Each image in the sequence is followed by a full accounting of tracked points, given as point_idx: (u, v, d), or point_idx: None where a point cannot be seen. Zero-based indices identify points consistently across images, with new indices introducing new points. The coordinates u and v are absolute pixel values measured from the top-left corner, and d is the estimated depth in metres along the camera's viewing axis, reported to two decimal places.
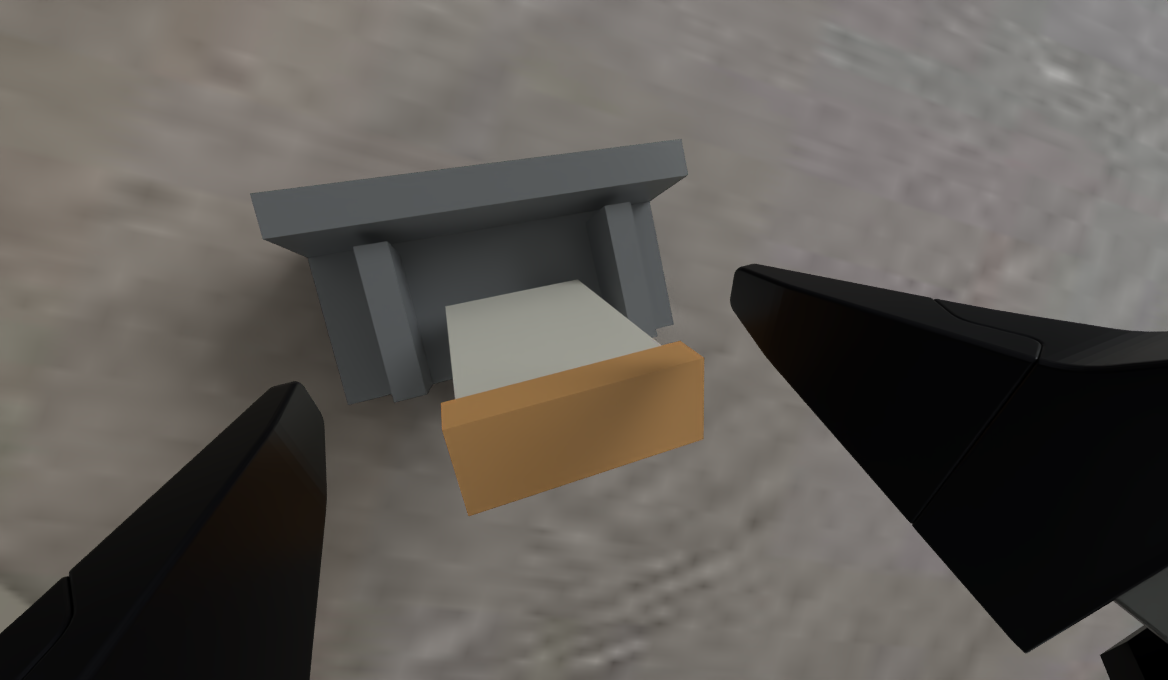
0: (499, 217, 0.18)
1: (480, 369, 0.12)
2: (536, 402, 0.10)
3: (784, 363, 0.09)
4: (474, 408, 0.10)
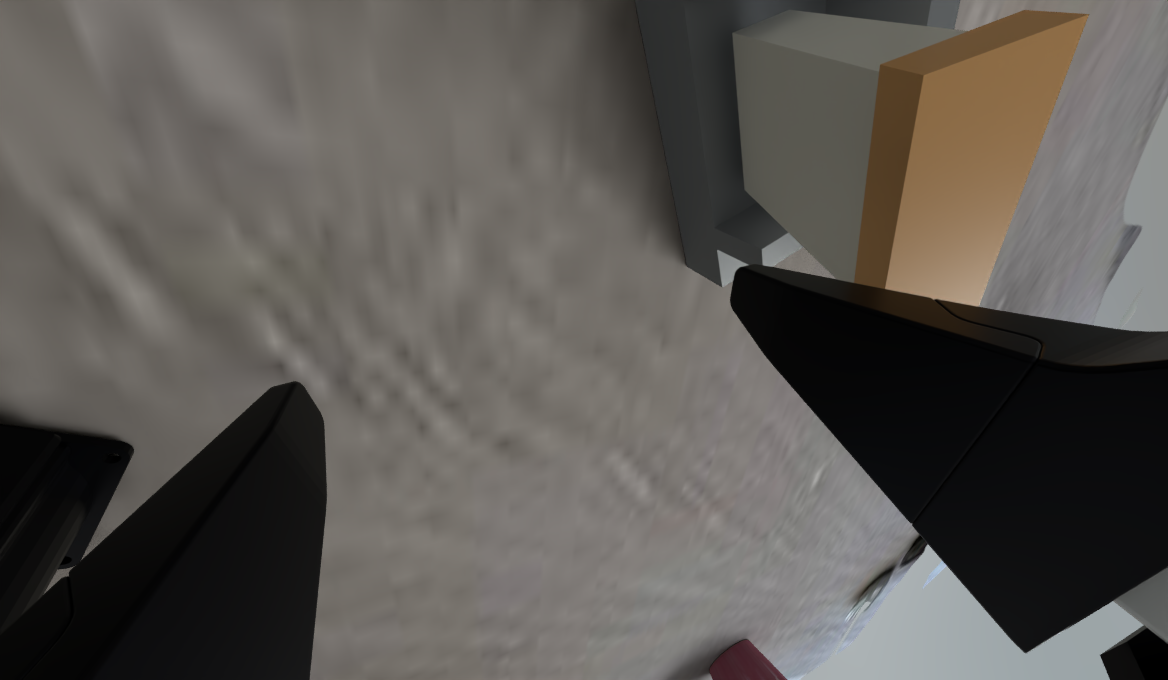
0: None
1: None
2: (1036, 143, 0.08)
3: (784, 363, 0.09)
4: None
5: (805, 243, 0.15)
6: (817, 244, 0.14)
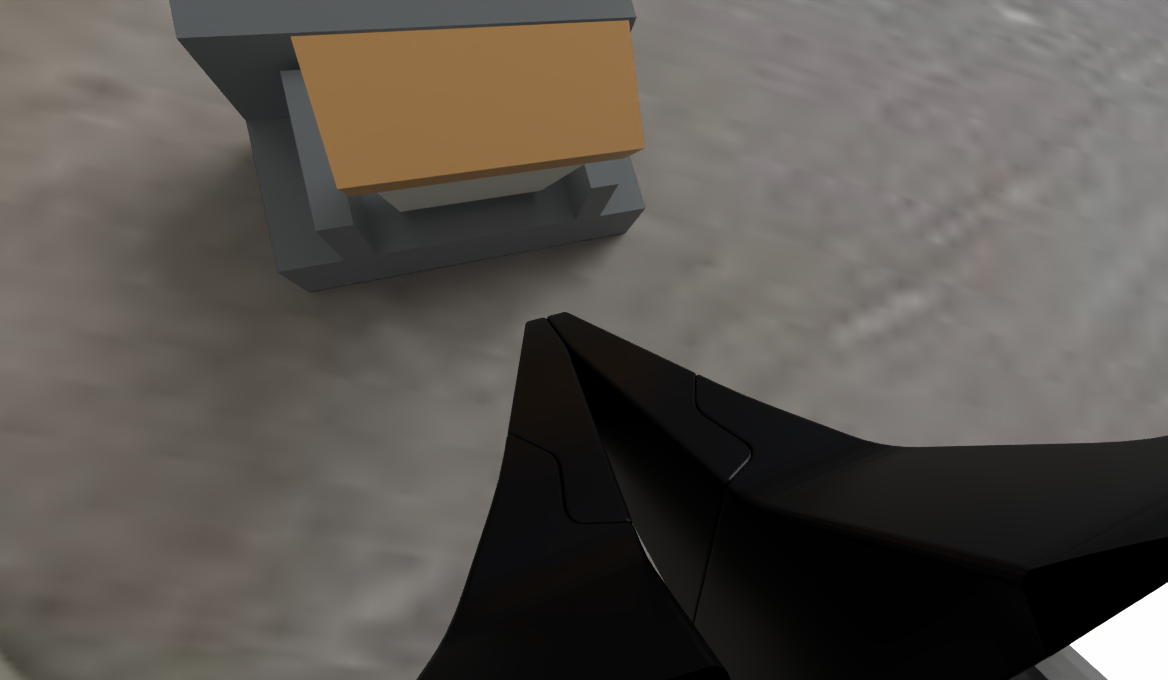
0: None
1: None
2: (416, 32, 0.08)
3: None
4: (342, 47, 0.08)
5: (569, 170, 0.14)
6: (563, 168, 0.13)
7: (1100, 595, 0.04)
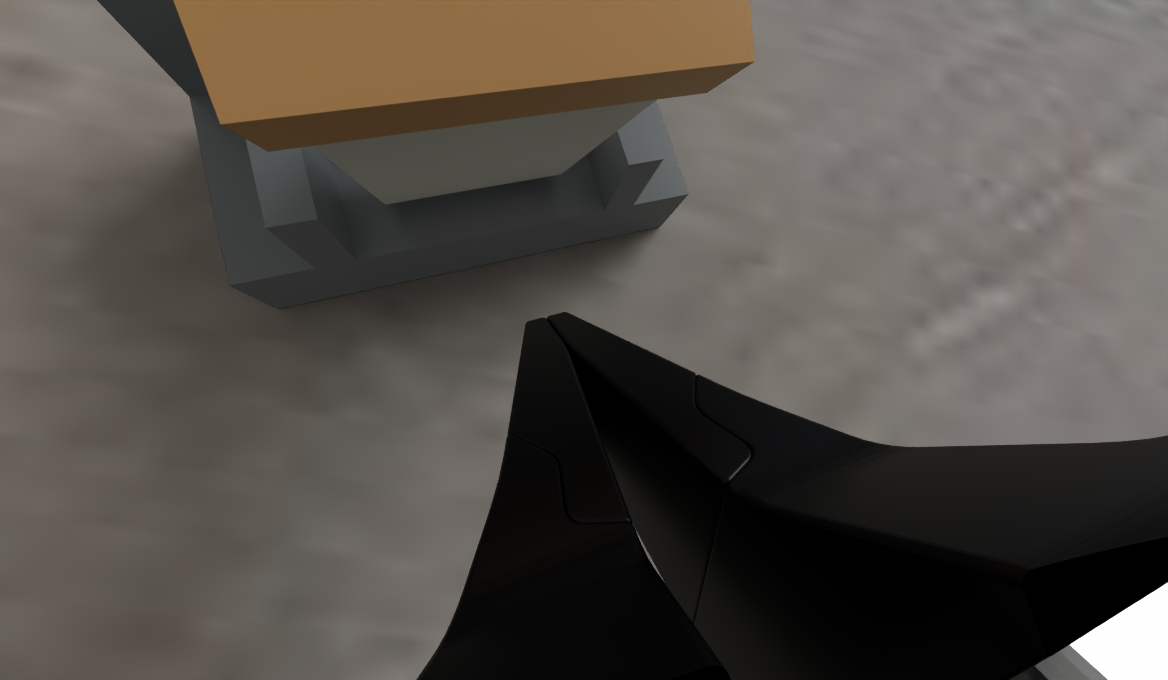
0: None
1: None
2: None
3: None
4: None
5: (608, 132, 0.10)
6: (603, 125, 0.09)
7: (1100, 595, 0.04)
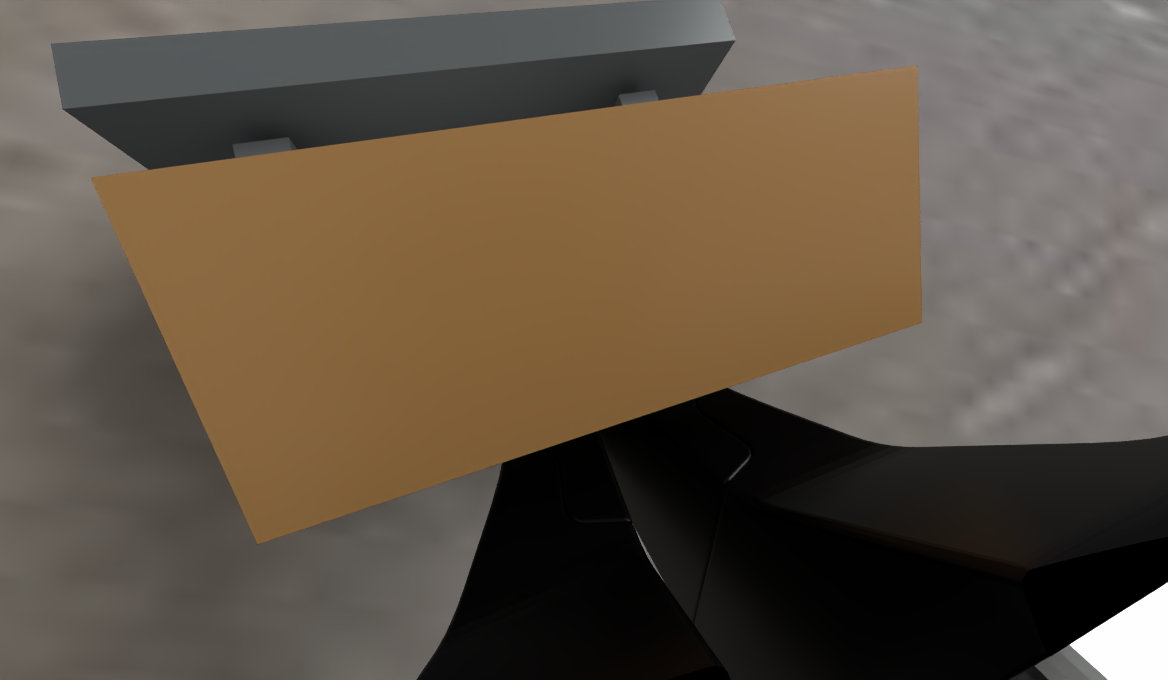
0: None
1: None
2: (455, 131, 0.03)
3: None
4: (266, 176, 0.03)
5: None
6: None
7: (1100, 596, 0.04)
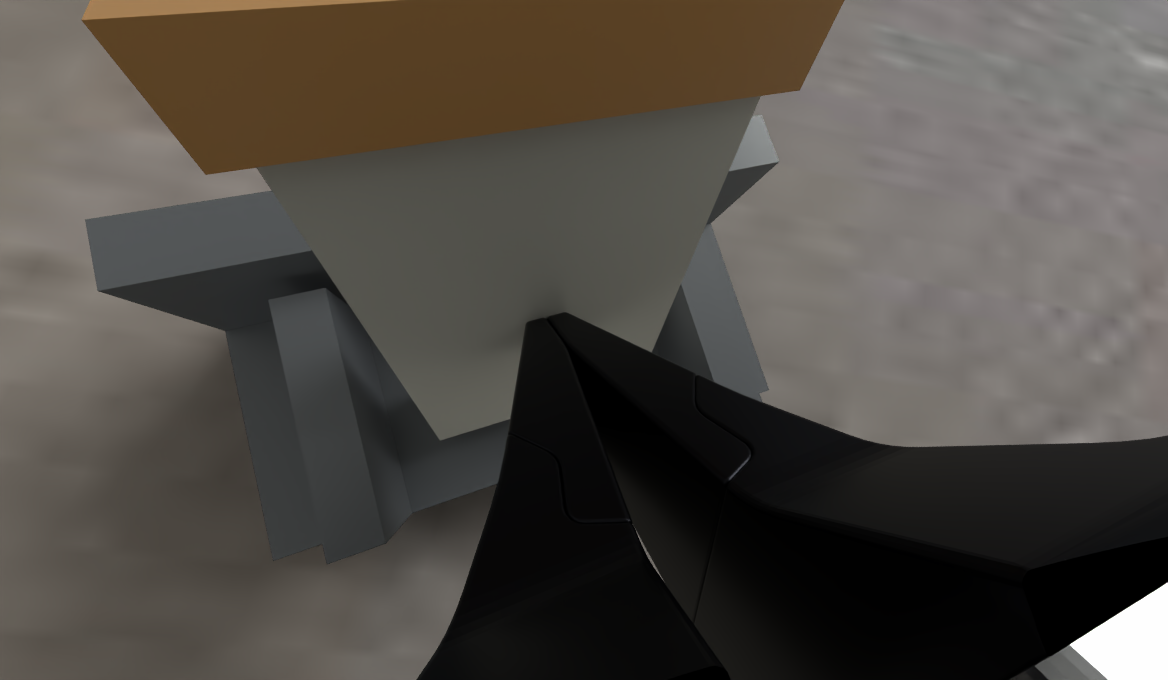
0: None
1: None
2: None
3: None
4: None
5: (683, 256, 0.08)
6: (675, 233, 0.07)
7: (1100, 595, 0.04)
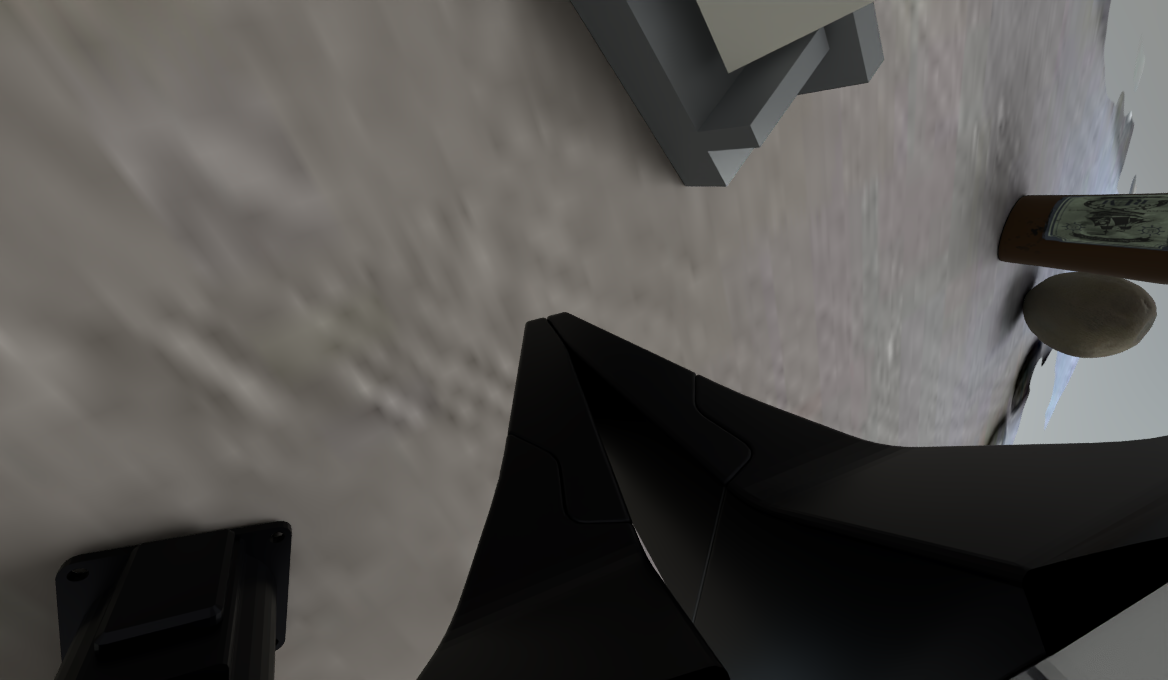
0: None
1: None
2: None
3: None
4: None
5: None
6: None
7: (1100, 595, 0.04)
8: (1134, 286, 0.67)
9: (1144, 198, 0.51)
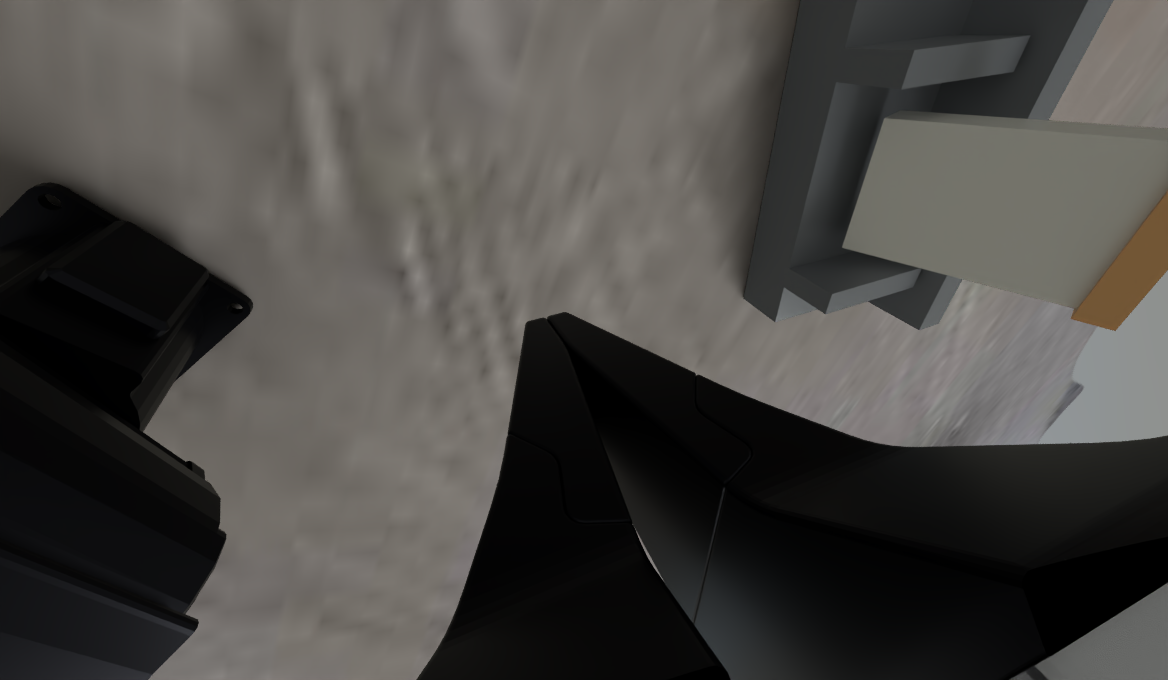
0: None
1: None
2: None
3: None
4: None
5: (975, 277, 0.18)
6: (1001, 274, 0.18)
7: (1100, 596, 0.04)
8: None
9: None
